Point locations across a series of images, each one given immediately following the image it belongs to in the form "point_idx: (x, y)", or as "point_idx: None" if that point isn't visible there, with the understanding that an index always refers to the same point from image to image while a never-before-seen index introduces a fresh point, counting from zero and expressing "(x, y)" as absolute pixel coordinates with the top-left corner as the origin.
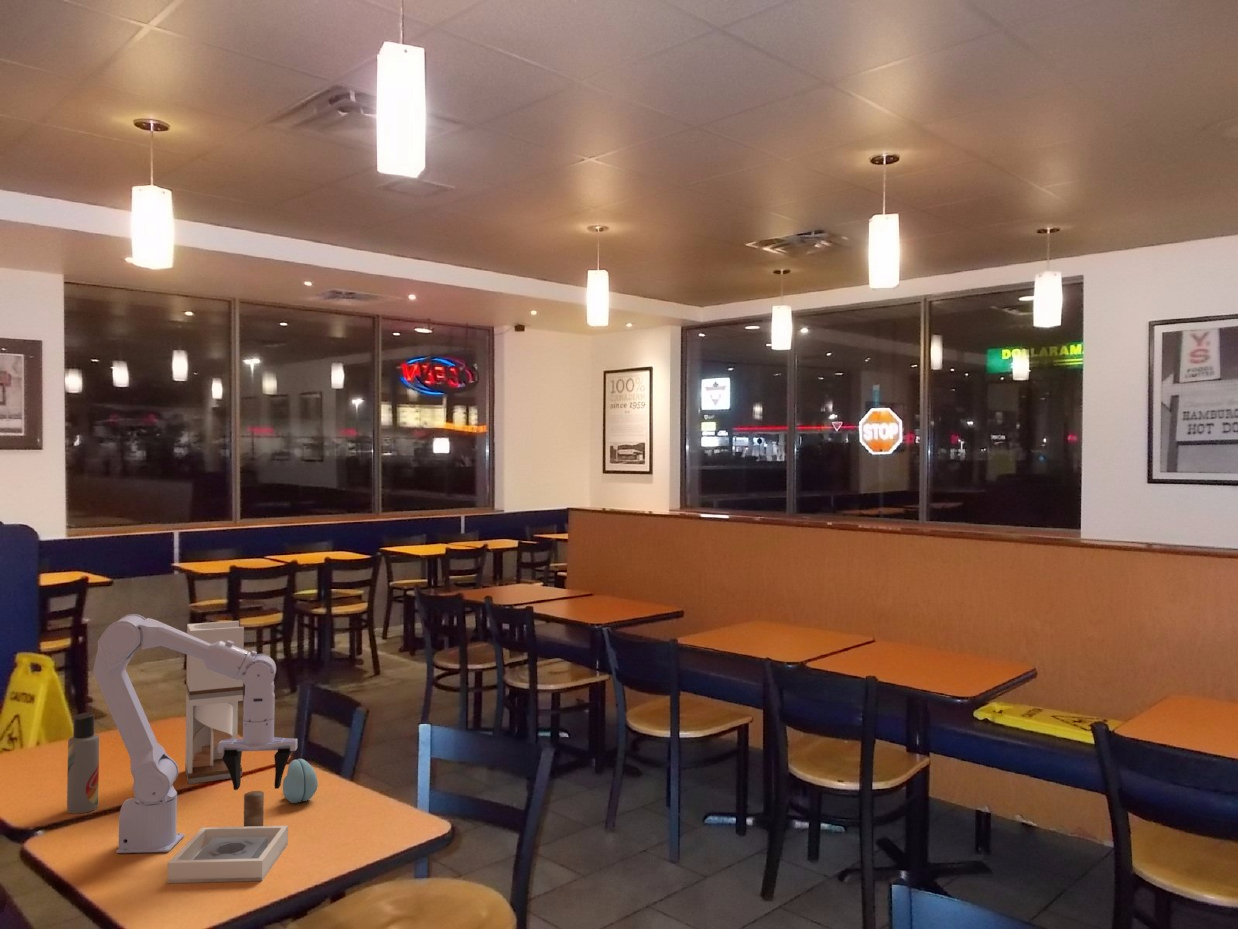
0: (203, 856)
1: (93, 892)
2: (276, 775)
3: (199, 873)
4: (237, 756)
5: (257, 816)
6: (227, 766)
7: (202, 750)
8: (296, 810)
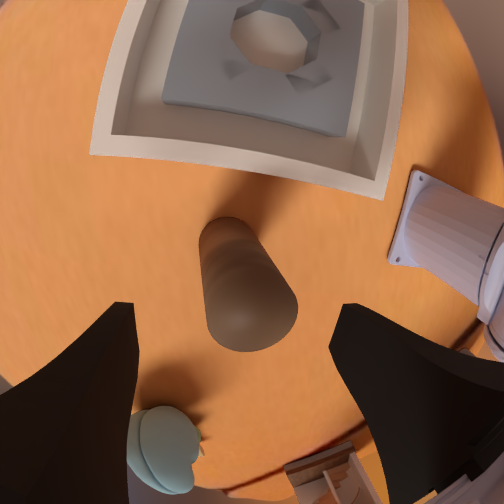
0: (344, 11)
1: (462, 47)
2: (96, 349)
3: None
4: (452, 448)
5: (218, 245)
6: (477, 360)
7: (338, 483)
8: (151, 379)
